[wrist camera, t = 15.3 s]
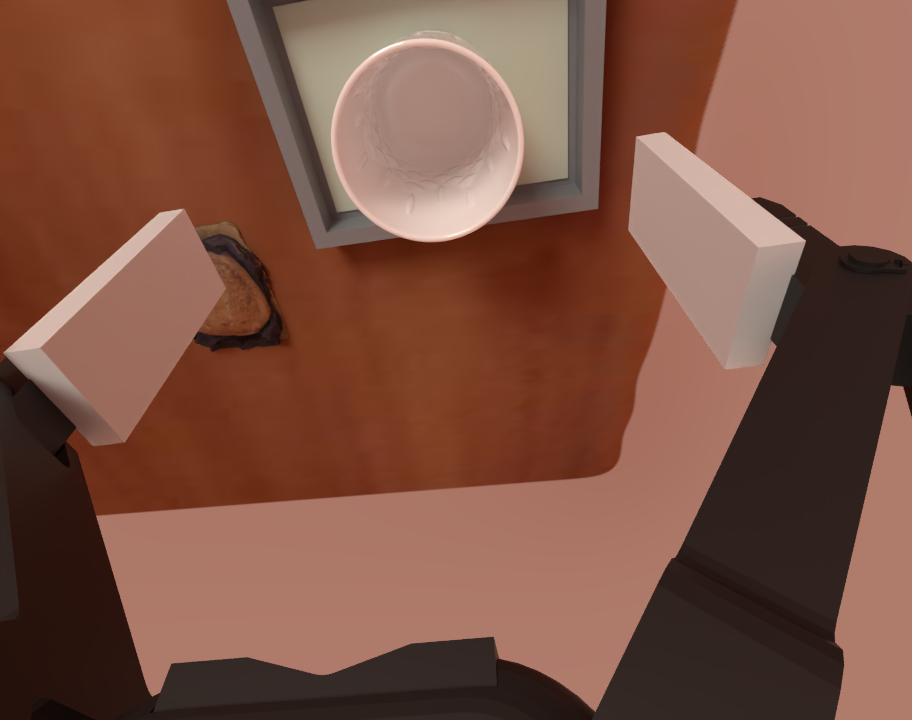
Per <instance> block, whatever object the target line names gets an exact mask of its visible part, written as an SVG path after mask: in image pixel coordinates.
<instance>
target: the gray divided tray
mask: <svg viewBox="0 0 912 720" xmlns="http://www.w3.org/2000/svg"><path fill="white" fill-rule="evenodd" d="M227 3H228V6H229V9H230V11H231V14H232V17H233V20H234V22H235V25H236V28H237V31H238V33H239V36H240V39H241V42H242V45H243V47H244V50H245V53H246V56H247V58H248V61H249V64H250V67H251V69H252V72H253V75H254V78H255V81H256V83H257V86H258V89H259V92H260V94H261V97H262V100H263V103H264V105H265V108H266V111H267V114H268V117H269V119H270V122H271V125H272V128H273V130H274V133H275V136H276V139H277V142H278V144H279V147H280V150H281V153H282V155H283V158H284V161H285V164H286V166H287V169H288V172H289V175H290V178H291V180H292V183H293V186H294V189H295V191H296V194H297V197H298V200H299V202H300V205H301V208H302V211H303V214H304V216H305V219H306V222H307V225H308V227H309V230H310V233H311V236H312V238H313V241H314V244H315V247H316V249H322V248H329V247H336V246H343V245H350V244H357V243H364V242H371V241H378V240H385V239H392V238H399V236H396V235H394V234H392V233H390V232H388V231H386V230H384V229H382V228H381V227H379V226H377V225H376V224H375V223H373V222H372V221H371V220H369V219H368V218H367V217H366V216H365V215H364V214H363V213H362V212H361V211H360V210H359V209H358V208H357V207H356V205H355V204H354V203H353V202H352V200H351V199H350V197H349V196H348V194H347V193H346V191H345V189H344V187H343V185H342V183H341V181H340V179H339V176H338V174H337V171H336V168H335V164H334V160H333V155H332V147H331V126H332V119H333V114H334V110H335V106H336V103H337V100H338V98H339V95H340V93H341V91H342V89H343V87H344V85H345V84H346V82H347V80H348V79H349V78H350V76H351V75H352V73H353V72H354V71H355V70H356V69H357V68H358V67H359V66H360V65H361V64H362V63H363V62H364V61H365V60H366V59H367V58H369V57H370V56H371V55H373V54H374V53H376V52H377V51H379V50H381V49H382V48H384V47H385V46H387V45H388V44H390V43H391V42H393V41H394V40H396V39H398V38H401V37H403V36H406V35H408V34H411V33H415V32H419V31H435V30H441V31H443V32H446V33H450V34H453V35H456V36H458V37H460V38H462V39H463V40H465V41H467V42H468V43H470V44H471V45H472V46H474V47H475V48H476V49H477V50H478V51H479V52H481V53H482V54H483V55H484V56H485V57H486V58H487V59H488V61H489V62H490V63H491V64H492V66H493V67H494V68H495V70H496V71H497V72H498V73H499V75H500V76H501V77H502V78H503V80H504V81H505V83H506V84H507V86H508V87H509V89H510V91H511V93H512V94H513V96H514V99H515V101H516V103H517V106H518V109H519V112H520V115H521V119H522V124H523V130H524V157H523V163H522V168H521V172H520V175H519V178H518V181H517V184H516V186H515V188H514V190H513V192H512V194H511V196H510V197H509V199H508V201H507V202H506V203H505V205H504V206H503V207H502V209H501V210H500V211H499V212H498V213H497V214H496V215H495V216H494V217H493V218H492V219H491V220H490V221H489V222H487V223H486V224H485V225H489V224H496V223H503V222H510V221H517V220H524V219H530V218H537V217H544V216H551V215H558V214H565V213H572V212H579V211H586V210H593V209H598V200H599V175H600V150H601V125H602V100H603V75H604V50H605V25H606V0H227Z"/></svg>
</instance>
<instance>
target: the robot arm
mask: <svg viewBox="0 0 912 720" xmlns="http://www.w3.org/2000/svg"><path fill="white" fill-rule="evenodd" d="M628 230H629V232H630V233H631V235H632V236H633V238H634V239H635V240H636V242H637V243H638V245H639V246H640V248H641V249H642V251H643V252H644V253H645V255H646V256H647V258H648V259H649V261H650V262H651V264H652V265H653V267H654V268H655V269H656V271H657V272H658V274H659V275H660V277H661V278H662V280H663V281H664V282H665V284H666V285H667V287H668V288H669V290H670V291H671V293H672V294H673V296H674V297H675V298H676V300H677V301H678V303H679V304H680V306H681V307H682V308H683V310H684V311H685V313H686V314H687V316H688V317H689V319H690V320H691V321H692V323H693V324H694V326H695V327H696V329H697V330H698V332H699V333H700V335H701V336H702V338H703V339H704V340H705V342H706V343H707V345H708V346H709V348H710V349H711V351H712V352H713V353H714V355H715V356H716V358H717V359H718V361H719V362H720V364H721V365H722V366H723V368H724V369H725V370H726V369H734V368H743V367H751V366H759V365H764V362H765V359H766V356H767V353H768V350H769V347H770V345H771V342H772V341H773V343H774V344H775V345H776V346H777V347H776V349H775V352H774V354H773V356H772V358H771V360H770V362H769V364H768V366H767V368H766V371H765V372H764V375H763V377H762V379H761V381H760V383H759V385H758V387H757V389H756V391H755V393H754V396H753V398H752V400H751V402H750V404H749V406H748V408H747V410H746V413H745V414H744V417H743V419H742V421H741V423H740V425H739V427H738V429H737V431H736V433H735V435H734V438H733V440H732V442H731V444H730V446H729V448H728V450H727V452H726V454H725V456H724V459H723V461H722V463H721V465H720V467H719V469H718V471H717V473H716V476H715V477H714V480H713V482H712V484H711V486H710V488H709V490H708V492H707V494H706V496H705V498H704V500H703V502H702V505H701V507H700V509H699V511H698V513H697V516H696V517H695V519H694V521H693V524H692V526H691V528H690V530H689V532H688V534H687V536H686V538H685V541H684V542H683V544H682V547H681V548H680V550H679V552H678V554H677V556H676V557H675V558H672V559H671V561H670V562H669V564H668V565H667V567H666V569H665V571H664V573H663V575H662V577H661V579H660V580H659V582H658V584H657V587H656V589H655V591H654V593H653V595H652V597H651V599H650V601H649V603H648V605H647V607H646V609H645V611H644V613H643V615H642V617H641V620H640V622H639V624H638V626H637V628H636V630H635V632H634V634H633V636H632V638H631V640H630V642H629V644H628V646H627V648H626V650H625V653H624V655H623V657H622V659H621V661H620V663H619V665H618V667H617V669H616V671H615V673H614V675H613V677H612V679H611V681H610V683H609V686H608V687H607V690H606V692H605V694H604V696H603V698H602V700H601V702H600V704H599V706H598V708H597V710H596V712H595V711H594V710H592V709H591V708H590V707H589V706H588V705H587V704H586V703H585V702H584V701H583V700H582V699H580V698H579V697H578V696H577V695H576V694H574V693H573V692H571V691H570V690H569V689H567V688H566V687H565V686H563V685H562V684H560V683H559V682H557V681H556V680H554V679H552V678H550V677H548V676H546V675H544V674H543V673H541V672H539V671H537V670H534V669H531V668H529V667H526V666H524V665H521V664H519V663H515V662H510V661H506V660H502V659H499V657H498V653H497V649H496V645H495V640H494V637H486V638H474V639H462V640H450V641H438V642H426V643H415V644H409V645H407V646H404V647H402V648H399V649H396V650H394V651H391V652H388V653H386V654H383V655H380V656H378V657H375V658H372V659H370V660H367V661H364V662H362V663H359V664H356V665H354V666H351V667H348V668H346V669H343V670H340V671H338V672H335V673H332V674H329V675H316V674H311V673H307V672H304V671H300V670H295V669H291V668H287V667H284V666H280V665H275V664H271V663H268V662H264V661H259V660H255V659H251V658H247V657H246V658H234V659H223V660H211V661H199V662H187V663H174V664H171V666H170V669H169V671H168V674H167V677H166V679H165V682H164V685H163V687H162V690H161V692H160V693H159V694H157V695H155V696H153V697H152V696H151V695H150V693H149V691H148V688H147V686H146V683H145V680H144V677H143V673H142V670H141V666H140V663H139V660H138V656H137V653H136V650H135V646H134V643H133V639H132V636H131V632H130V629H129V626H128V622H127V619H126V616H125V612H124V609H123V605H122V602H121V599H120V595H119V592H118V589H117V585H116V582H115V578H114V575H113V572H112V568H111V565H110V562H109V558H108V555H107V551H106V548H105V545H104V541H103V538H102V535H101V531H100V528H99V525H98V521H97V518H96V514H95V511H94V508H93V504H92V501H91V497H90V494H89V491H88V487H87V484H86V481H85V477H84V474H83V470H82V467H81V464H80V460H79V457H78V453H77V452H76V451H75V450H74V449H73V448H72V447H71V446H70V445H69V444H68V443H67V442H66V440H67V439H68V438H69V436H70V435H71V434H72V433H73V431H74V430H75V429H77V430H78V431H79V432H80V433H81V434H82V435H83V436H84V437H85V438H86V440H87V441H88V442H89V443H90V444H91V445H92V446H101V445H109V444H117V443H125V441H126V440H127V438H128V437H129V435H130V434H131V432H132V431H133V429H134V428H135V426H136V425H137V423H138V422H139V420H140V419H141V417H142V416H143V414H144V413H145V411H146V410H147V408H148V406H149V405H150V403H151V402H152V400H153V399H154V397H155V396H156V394H157V393H158V391H159V390H160V388H161V387H162V385H163V384H164V382H165V381H166V379H167V378H168V376H169V375H170V373H171V372H172V370H173V368H174V367H175V365H176V364H177V362H178V361H179V359H180V358H181V356H182V355H183V353H184V352H185V350H186V349H187V347H188V346H189V344H190V343H191V341H192V340H193V338H194V337H195V335H196V333H197V332H198V330H199V329H200V327H201V326H202V324H203V323H204V321H205V320H206V318H207V317H208V315H209V314H210V312H211V311H212V309H213V308H214V306H215V305H216V303H217V302H218V300H219V298H220V297H221V295H222V294H223V292H224V291H225V289H226V287H225V285H224V283H223V282H222V280H221V278H220V276H219V274H218V272H217V270H216V268H215V266H214V264H213V263H212V261H211V259H210V257H209V255H208V253H207V251H206V249H205V247H204V245H203V244H202V242H201V240H200V238H199V236H198V234H197V232H196V230H195V228H194V226H193V225H192V223H191V221H190V219H189V217H188V215H187V213H186V211H185V209H180V210H173V211H167V212H161V213H159V214H158V215H157V216H156V217H154V218H153V219H152V220H151V221H150V222H149V223H148V224H147V225H145V226H144V227H143V228H142V229H141V230H140V231H139V232H138V233H137V234H135V235H134V236H133V237H132V238H131V239H130V240H129V241H128V242H126V243H125V244H124V245H123V246H122V247H121V248H120V249H119V250H118V251H116V252H115V253H114V254H113V255H112V256H111V257H110V258H109V259H107V260H106V261H105V262H104V263H103V264H102V265H101V266H100V267H99V268H97V269H96V270H95V271H94V272H93V273H92V274H91V275H90V276H88V277H87V278H86V279H85V280H84V281H83V282H82V283H81V284H80V285H78V286H77V287H76V288H75V289H74V290H73V291H72V292H71V293H70V294H68V295H67V296H66V297H65V298H64V299H63V300H62V301H61V302H59V303H58V304H57V305H56V306H55V307H54V308H53V309H52V310H51V311H49V312H48V313H47V314H46V315H45V316H44V317H43V318H42V319H40V320H39V321H38V322H37V323H36V324H35V325H34V326H33V327H32V328H30V329H29V330H28V331H27V332H26V333H25V334H24V335H23V336H21V337H20V338H19V339H18V340H17V341H16V342H15V343H14V344H13V345H11V346H10V347H9V348H8V349H7V350H6V351H5V352H4V353H3V354H4V355H5V356H6V358H5V359H4V360H3V361H2V362H1V363H0V720H835V715H836V710H837V705H838V700H839V695H840V690H841V683H842V676H843V669H844V660H843V659H844V658H843V650H842V649H841V648H840V647H839V646H838V645H837V644H836V643H835V635H834V634H835V628H836V622H837V617H838V613H839V608H840V604H841V600H842V596H843V591H844V587H845V583H846V578H847V574H848V570H849V565H850V561H851V556H852V552H853V547H854V543H855V539H856V534H857V530H858V526H859V522H860V517H861V513H862V509H863V504H864V500H865V495H866V491H867V487H868V482H869V478H870V474H871V469H872V465H873V461H874V456H875V452H876V448H877V443H878V439H879V435H880V430H881V426H882V421H883V417H884V413H885V408H886V404H887V399H888V395H889V391H890V387H891V385H894V386H903V387H904V391H905V394H906V398H907V402H908V405H909V409H910V412H911V416H912V262H911V261H909V260H908V259H907V258H906V257H904V256H901V255H899V254H897V253H894V252H892V251H889V250H885V249H880V248H876V247H869V246H856V245H853V246H838V245H837V244H836V243H834V242H833V241H831V240H830V239H829V238H827V237H826V236H824V235H823V234H822V233H820V232H819V231H817V230H816V229H815V228H813V227H812V226H807V223H806V222H805V221H803V220H802V219H801V218H799V217H796V215H795V214H794V213H792V212H791V211H789V210H788V209H787V208H785V207H784V206H783V205H781V204H778V203H775V202H772V201H769V200H766V199H763V198H761V197H758V198H752V199H751V198H750V197H748V196H747V195H746V194H744V193H743V192H742V191H741V190H739V189H738V188H737V187H735V186H734V185H733V184H731V183H730V182H729V181H728V180H726V179H725V178H723V177H722V176H721V175H720V174H718V173H717V172H716V171H714V170H713V169H712V168H711V167H709V166H708V165H707V164H706V163H704V162H703V161H702V160H700V159H699V158H698V157H697V156H695V155H694V154H693V153H691V152H690V151H689V150H687V149H686V148H685V147H684V146H682V145H681V144H680V143H678V142H677V141H676V140H674V139H673V138H672V137H671V136H669V135H668V134H667V133H665V132H662V133H656V134H650V135H644V136H637V137H636V147H635V158H634V170H633V182H632V193H631V205H630V216H629V228H628Z"/></svg>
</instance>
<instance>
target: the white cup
mask: <svg viewBox="0 0 912 720" xmlns="http://www.w3.org/2000/svg"><path fill="white" fill-rule="evenodd" d="M331 147H332V155H333V160H334V164H335V168H336V171H337V174H338V176H339V179H340V181H341V183H342V185H343V187H344V189H345V191H346V193H347V194H348V196H349V197H350V199H351V200H352V202H353V203H354V204H355V205H356V207H357V208H358V209H359V210H360V211H361V212H362V213H363V214H364V215H365V216H366V217H367V218H368V219H369V220H371V221H372V222H373V223H375V224H376V225H377V226H379V227H381V228H382V229H384V230H386V231H388V232H390V233H392V234H394V235H396V236H399V237H402V238H405V239H409V240H413V241H420V242H442V241H448V240H453V239H457V238H460V237H463V236H465V235H467V234H470V233H472V232H474V231H475V230H477V229H479V228H480V227H482V226H483V225H485V224H486V223H487V222H489V221H490V220H491V219H492V218H493V217H494V216H495V215H496V214H497V213H498V212H499V211H500V210H501V209H502V207H503V206H504V205H505V203H506V202H507V201H508V199H509V197H510V196H511V194H512V192H513V190H514V188H515V186H516V184H517V181H518V178H519V175H520V172H521V168H522V163H523V157H524V130H523V124H522V119H521V115H520V112H519V109H518V106H517V103H516V101H515V99H514V96H513V94H512V93H511V91H510V89H509V87H508V86H507V84H506V83H505V81H504V80H503V78H502V77H501V76H500V75H499V73H498V72H497V71H496V70H495V68H494V67H493V66H492V64H491V63H490V62H489V61H488V59H487V58H486V57H485V56H484V55H483V54H482V53H481V52H479V51H478V50H477V49H476V48H475V47H474V46H472V45H471V44H470V43H468V42H467V41H465V40H463V39H462V38H460V37H458V36H456V35H453V34H450V33H446V32H443V31H441V30H435V31H419V32H415V33H411V34H408V35H406V36H403V37H401V38H398V39H396V40H394V41H393V42H391V43H390V44H388V45H387V46H385V47H384V48H382V49H381V50H379V51H377V52H376V53H374V54H373V55H371V56H370V57H369V58H367V59H366V60H365V61H364V62H363V63H362V64H361V65H360V66H359V67H358V68H357V69H356V70H355V71H354V72H353V73H352V75H351V76H350V78H349V79H348V80H347V82H346V84H345V85H344V87H343V89H342V91H341V93H340V95H339V98H338V100H337V103H336V106H335V110H334V114H333V119H332V126H331Z"/></svg>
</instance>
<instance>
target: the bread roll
mask: <svg viewBox="0 0 912 720" xmlns="http://www.w3.org/2000/svg"><path fill="white" fill-rule="evenodd" d="M195 230H196V232H197V234H198V236H199V238H200V240H201V242H202V244H203V245H204V247H205V249H206V251H207V253H208V255H209V257H210V259H211V261H212V263H213V264H214V266H215V268H216V270H217V272H218V274H219V276H220V278H221V280H222V282H223V283H224V285H225V287H226V289H225V291H224V292H223V294H222V295H221V297H220V298H219V300H218V302H217V303H216V305H215V306H214V308H213V309H212V311H211V312H210V314H209V315H208V317H207V318H206V320H205V321H204V323H203V324H202V326H201V327H200V329H199V330H198V332H197V333H196V335H195V337H194V338H193V339H195V343H198V344H200V345H203V346H206V347H210V348H211V349H210V350H211V351H212V352H214V351H216V350H218V349H222V348H232V347H239V348H241V349H242V350H245V349H249V348H252V347H255V346H273V345H279V344H280V341H281V340H284V339H287V338H288V335H287V328H286V326H285V323H284V320H283V318H282V315H281V312H280V309H279V306H278V303H277V301H276V299H275V298H274V296H273V293H272V291H271V289H270V286H269V285H268V282H266V280H267V279H268V277H267V276H266V274H265V272H264V271H263V269H262V265H261V263H260V261H259V260H257V259H256V258H255V256H254V255H253V253H252V251H251V250H250V249H249V248H248V246H247V245H246V244H245V242H244V240H243V238H242V237H241V234H240V232H239V229H238V228H237V227H236V226H235V225H234V224H232V223H230V222H222V223H218V224H213V225H207V226H201V227H195Z"/></svg>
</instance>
